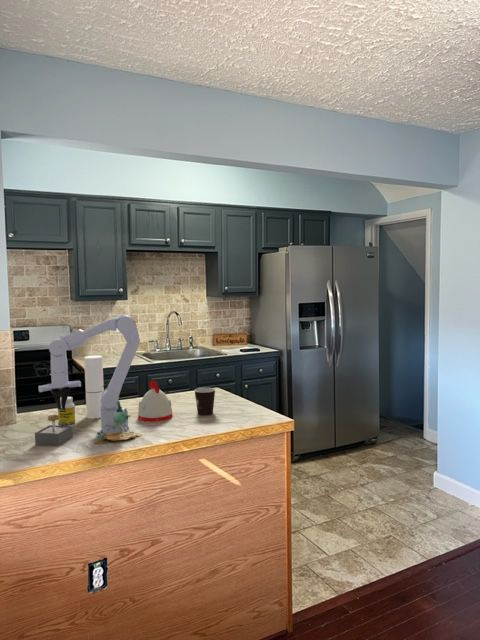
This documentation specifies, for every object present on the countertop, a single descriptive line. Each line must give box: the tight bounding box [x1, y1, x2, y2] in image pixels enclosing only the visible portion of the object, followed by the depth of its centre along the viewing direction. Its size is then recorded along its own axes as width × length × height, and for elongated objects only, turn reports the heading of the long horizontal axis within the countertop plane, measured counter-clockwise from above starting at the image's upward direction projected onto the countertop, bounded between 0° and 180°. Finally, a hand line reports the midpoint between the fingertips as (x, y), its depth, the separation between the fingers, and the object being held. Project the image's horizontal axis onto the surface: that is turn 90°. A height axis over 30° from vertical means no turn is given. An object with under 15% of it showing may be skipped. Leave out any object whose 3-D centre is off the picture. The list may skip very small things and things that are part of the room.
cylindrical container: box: [83, 355, 105, 420], centre depth 202 cm, size 7×7×25 cm
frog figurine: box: [93, 400, 143, 445], centre depth 175 cm, size 10×18×15 cm, turn 115°
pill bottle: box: [57, 396, 76, 427], centre depth 190 cm, size 6×6×11 cm
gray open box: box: [34, 424, 74, 447], centre depth 173 cm, size 9×10×4 cm
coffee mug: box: [194, 387, 216, 417], centre depth 206 cm, size 12×9×10 cm
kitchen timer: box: [137, 380, 173, 423], centre depth 201 cm, size 14×14×15 cm
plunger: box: [40, 414, 67, 434], centre depth 172 cm, size 7×7×5 cm
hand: (61, 408), depth 179 cm, fingers closed
